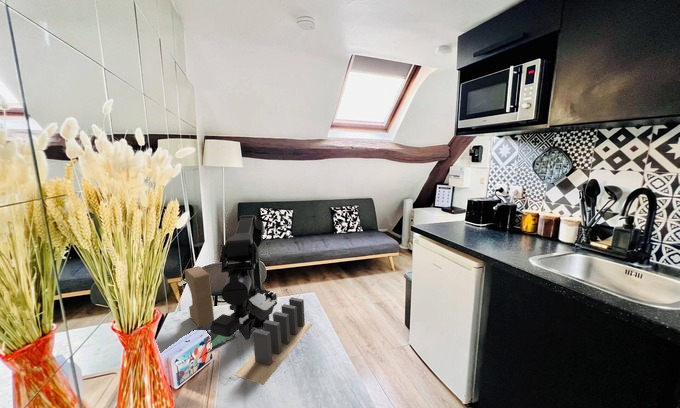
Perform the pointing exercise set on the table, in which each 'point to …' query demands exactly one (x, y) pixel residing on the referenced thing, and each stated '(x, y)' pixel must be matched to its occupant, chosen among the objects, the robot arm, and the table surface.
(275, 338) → the domino
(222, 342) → the disk drive
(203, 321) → the decorative block
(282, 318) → the domino
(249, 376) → the board
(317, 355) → the table surface
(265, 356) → the domino
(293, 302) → the domino
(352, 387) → the table surface
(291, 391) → the table surface
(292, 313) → the domino
